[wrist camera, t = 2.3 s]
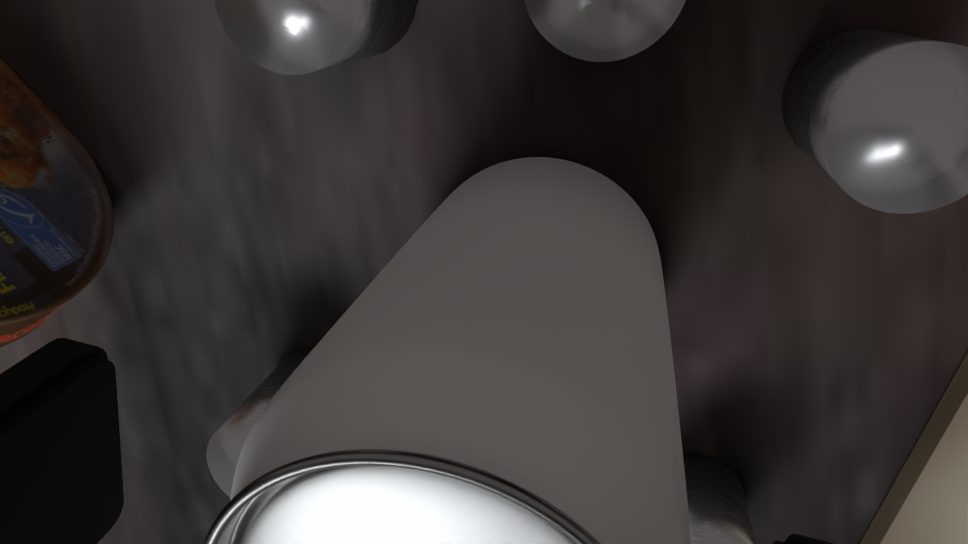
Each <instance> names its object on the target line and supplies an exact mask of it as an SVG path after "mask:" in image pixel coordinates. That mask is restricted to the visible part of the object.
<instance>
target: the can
mask: <svg viewBox="0 0 968 544" xmlns="http://www.w3.org/2000/svg"><path fill="white" fill-rule="evenodd" d="M204 544H690V528H689V513H688V502H687V491H686V481H685V470H684V460H683V451H682V441H681V431H680V422H679V412H678V403H677V394H676V384H675V375H674V366H673V357H672V348H671V339H670V330H669V321H668V313H667V304H666V296H665V287H664V280H663V272H662V265H661V259H660V254H659V249H658V245H657V242H656V238H655V235H654V233H653V230H652V228H651V226H650V223H649V222H648V220H647V218H646V216H645V215H644V213H643V212H642V210H641V209H640V207H639V206H638V205H637V204H636V202H635V201H634V200H633V199H632V198H631V197H630V196H629V195H628V194H627V193H626V192H625V191H624V190H623V189H622V188H621V187H620V186H618V185H617V184H616V183H614V182H613V181H612V180H610V179H609V178H607V177H606V176H604V175H602V174H601V173H599V172H597V171H595V170H593V169H591V168H588V167H586V166H583V165H581V164H578V163H575V162H571V161H567V160H562V159H557V158H548V157H528V158H519V159H513V160H509V161H505V162H501V163H498V164H495V165H493V166H490V167H488V168H486V169H484V170H482V171H480V172H478V173H477V174H475V175H473V176H472V177H470V178H469V179H467V180H466V181H465V182H463V183H462V184H461V185H460V186H459V187H457V188H456V189H455V190H454V191H453V192H452V193H451V194H450V195H449V196H448V197H447V198H446V199H445V200H444V201H443V203H442V204H441V205H440V206H439V207H438V208H437V209H436V210H435V211H434V212H433V213H432V215H431V216H430V217H429V218H428V219H427V220H426V221H425V222H424V223H423V225H422V226H421V227H420V228H419V229H418V230H417V231H416V232H415V234H414V235H413V236H412V237H411V238H410V239H409V240H408V241H407V243H406V244H405V245H404V246H403V247H402V248H401V249H400V250H399V252H398V253H397V254H396V255H395V256H394V257H393V258H392V259H391V261H390V262H389V263H388V264H387V265H386V266H385V267H384V268H383V270H382V271H381V272H380V273H379V274H378V275H377V276H376V278H375V279H374V280H373V281H372V282H371V283H370V284H369V286H368V287H367V288H366V289H365V290H364V291H363V292H362V293H361V295H360V296H359V297H358V298H357V299H356V300H355V301H354V303H353V304H352V305H351V306H350V307H349V308H348V309H347V311H346V312H345V313H344V314H343V315H342V316H341V317H340V319H339V320H338V321H337V322H336V323H335V324H334V325H333V327H332V328H331V329H330V330H329V331H328V332H327V334H326V335H325V336H324V337H323V338H322V339H321V340H320V342H319V343H318V344H317V345H316V346H315V347H314V349H313V350H312V351H311V352H310V353H309V354H308V356H307V357H306V358H305V359H304V360H303V361H302V363H301V364H300V365H299V366H298V367H297V368H296V370H295V371H294V372H293V373H292V374H291V375H290V377H289V378H288V379H287V380H286V382H285V383H284V384H283V385H282V387H281V388H280V389H279V390H278V391H277V393H276V394H275V395H274V396H273V398H272V399H271V400H270V401H269V403H268V404H267V405H266V407H265V408H264V410H263V411H262V413H261V414H260V416H259V417H258V419H257V420H256V422H255V424H254V425H253V427H252V429H251V430H250V432H249V434H248V436H247V438H246V440H245V442H244V445H243V447H242V450H241V453H240V456H239V459H238V462H237V466H236V469H235V474H234V478H233V484H232V490H231V497H230V502H229V503H228V504H227V505H226V506H225V507H224V508H223V510H222V511H221V512H220V514H219V515H218V516H217V518H216V520H215V521H214V523H213V524H212V526H211V528H210V530H209V532H208V534H207V536H206V539H205V541H204Z"/></svg>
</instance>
